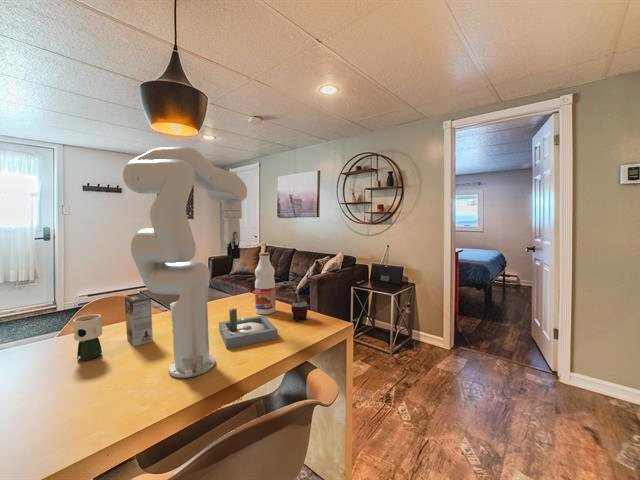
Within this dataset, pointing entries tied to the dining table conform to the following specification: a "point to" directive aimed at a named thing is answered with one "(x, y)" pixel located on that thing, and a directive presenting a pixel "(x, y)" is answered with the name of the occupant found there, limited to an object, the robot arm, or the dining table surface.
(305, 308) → the mate gourd
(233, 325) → the dial
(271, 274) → the fruit juice
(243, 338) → the housing
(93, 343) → the character mug
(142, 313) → the coffee box
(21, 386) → the dining table surface
